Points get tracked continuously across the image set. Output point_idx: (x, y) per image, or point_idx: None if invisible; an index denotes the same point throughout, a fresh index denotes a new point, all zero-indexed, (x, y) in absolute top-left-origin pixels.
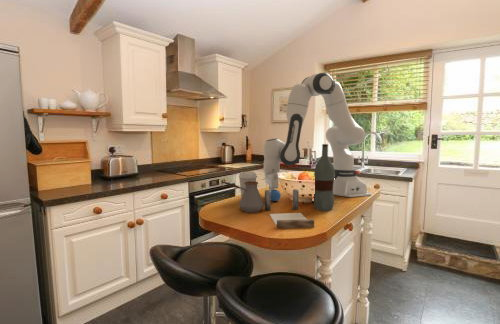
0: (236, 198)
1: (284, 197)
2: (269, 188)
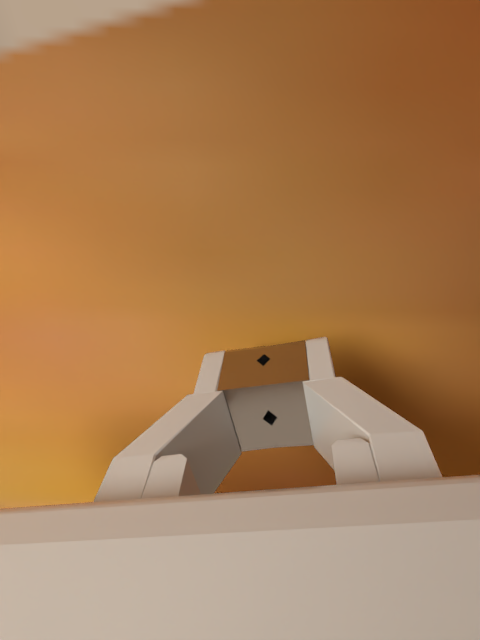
0: None
1: (296, 22)
2: (216, 481)
